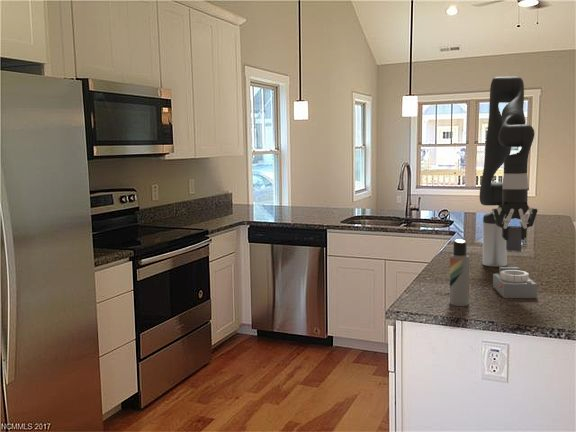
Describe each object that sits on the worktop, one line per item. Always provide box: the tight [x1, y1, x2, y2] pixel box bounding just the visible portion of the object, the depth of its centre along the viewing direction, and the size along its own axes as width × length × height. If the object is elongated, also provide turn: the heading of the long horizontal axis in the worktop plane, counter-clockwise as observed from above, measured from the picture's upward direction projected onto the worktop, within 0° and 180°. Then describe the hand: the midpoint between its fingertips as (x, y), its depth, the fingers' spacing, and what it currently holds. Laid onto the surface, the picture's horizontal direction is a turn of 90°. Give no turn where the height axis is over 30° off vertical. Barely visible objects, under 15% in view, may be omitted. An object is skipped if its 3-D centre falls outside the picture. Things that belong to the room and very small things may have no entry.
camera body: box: [492, 266, 538, 299], centre depth 180 cm, size 14×11×7 cm
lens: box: [506, 225, 523, 253], centre depth 178 cm, size 5×5×8 cm
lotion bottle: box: [449, 238, 471, 307], centre depth 168 cm, size 6×6×20 cm
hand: (513, 239), depth 178 cm, fingers closed on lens, 4 cm apart
